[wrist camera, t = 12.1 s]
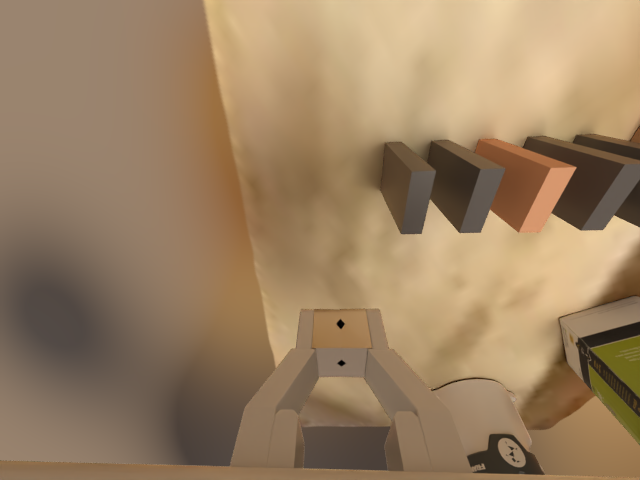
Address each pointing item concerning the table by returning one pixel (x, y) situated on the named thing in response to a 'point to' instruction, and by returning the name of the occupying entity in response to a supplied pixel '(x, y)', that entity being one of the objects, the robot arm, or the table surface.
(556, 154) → the domino
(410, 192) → the domino
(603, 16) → the table surface
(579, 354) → the tea box
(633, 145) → the domino
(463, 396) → the robot arm
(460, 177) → the domino
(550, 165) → the domino
